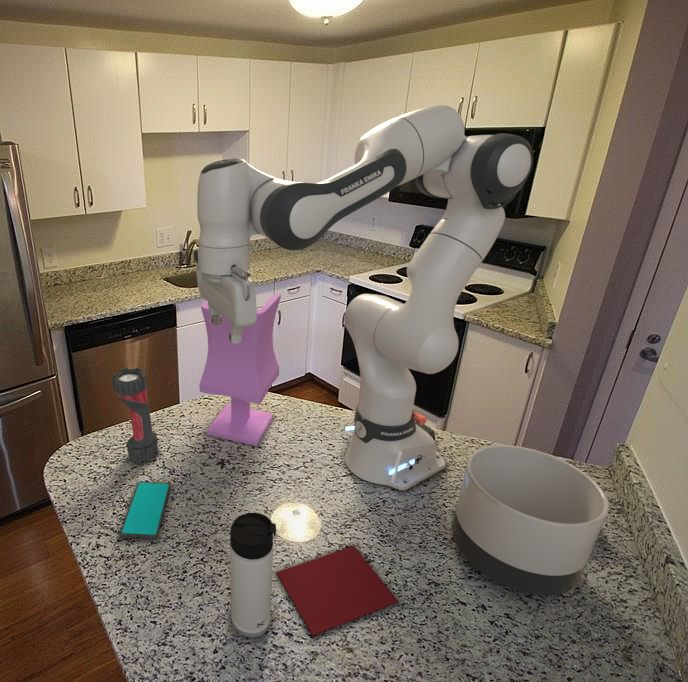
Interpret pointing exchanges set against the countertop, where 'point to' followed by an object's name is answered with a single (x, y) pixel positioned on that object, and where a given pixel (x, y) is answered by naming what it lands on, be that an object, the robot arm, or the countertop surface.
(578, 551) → the planter
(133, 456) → the flashlight
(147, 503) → the smartphone
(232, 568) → the travel mug
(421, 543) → the countertop surface
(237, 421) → the vase
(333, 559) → the napkin
